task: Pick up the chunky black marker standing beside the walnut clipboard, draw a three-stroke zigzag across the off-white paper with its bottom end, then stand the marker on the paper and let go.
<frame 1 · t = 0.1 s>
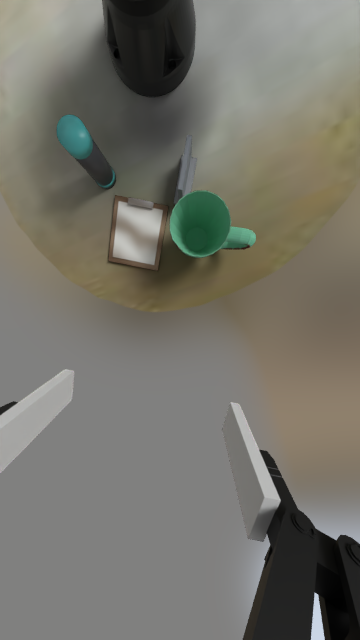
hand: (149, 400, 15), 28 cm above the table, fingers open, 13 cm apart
clipboard: (137, 235, 38), on the table
gray bookend: (185, 182, 36), on the table
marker: (106, 177, 36), on the table
mug: (207, 241, 38), on the table
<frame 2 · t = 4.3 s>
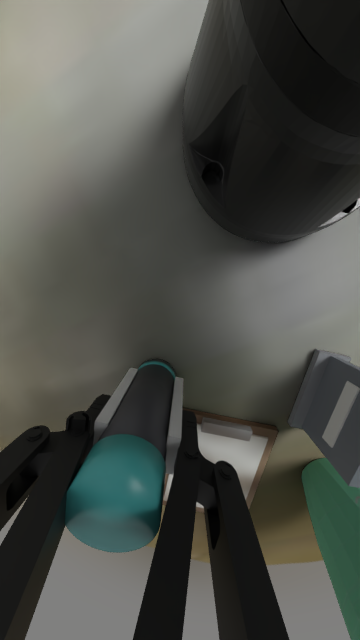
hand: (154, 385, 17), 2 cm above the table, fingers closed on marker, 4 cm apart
clipboard: (211, 464, 20), on the table
gray bookend: (315, 390, 18), on the table
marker: (156, 376, 18), on the table, touching gripper
mug: (342, 477, 20), on the table
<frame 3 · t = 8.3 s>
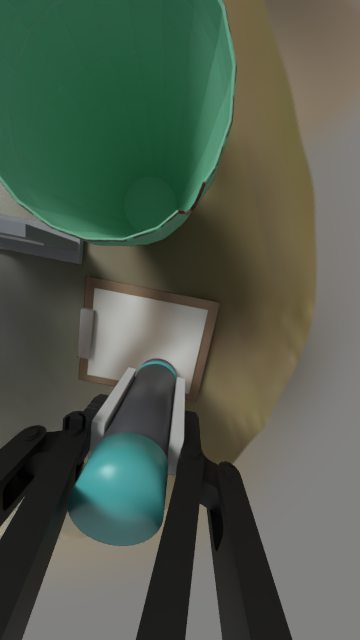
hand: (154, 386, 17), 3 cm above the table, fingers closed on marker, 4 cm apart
clipboard: (146, 341, 19), on the table
gray bookend: (39, 239, 17), on the table
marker: (157, 376, 19), point 1 cm above the table, touching clipboard, gripper
mug: (155, 178, 16), on the table
when the fingers open (3 cm above the table, at t = 12.9 s): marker stays where it is, resting on clipboard.
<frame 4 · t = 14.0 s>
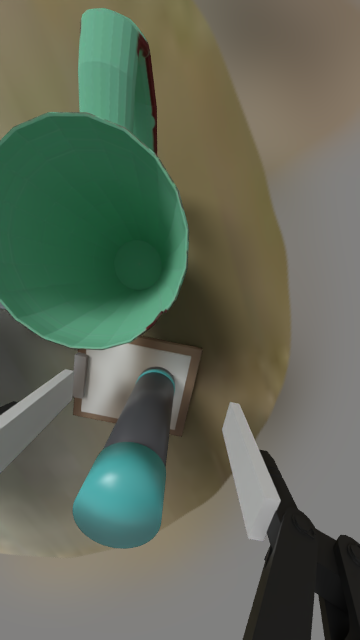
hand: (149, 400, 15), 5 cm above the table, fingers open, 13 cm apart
clipboard: (135, 381, 20), on the table
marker: (156, 383, 19), point 1 cm above the table, touching clipboard
mug: (142, 240, 17), on the table
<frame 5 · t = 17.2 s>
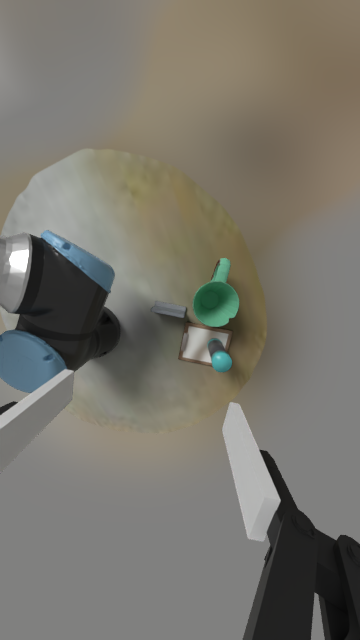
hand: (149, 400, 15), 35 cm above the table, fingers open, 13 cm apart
clipboard: (204, 344, 50), on the table
gray bookend: (169, 309, 48), on the table
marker: (214, 345, 49), point 1 cm above the table, touching clipboard
mug: (211, 290, 47), on the table
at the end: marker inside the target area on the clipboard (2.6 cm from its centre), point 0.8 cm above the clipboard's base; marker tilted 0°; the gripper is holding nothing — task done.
